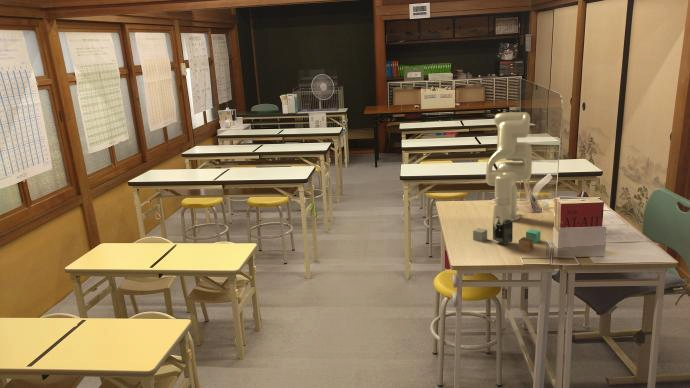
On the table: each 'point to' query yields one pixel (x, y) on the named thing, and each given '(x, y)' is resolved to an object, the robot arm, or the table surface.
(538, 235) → the teal cube
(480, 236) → the slate cube
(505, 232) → the box
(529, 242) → the walnut cube
